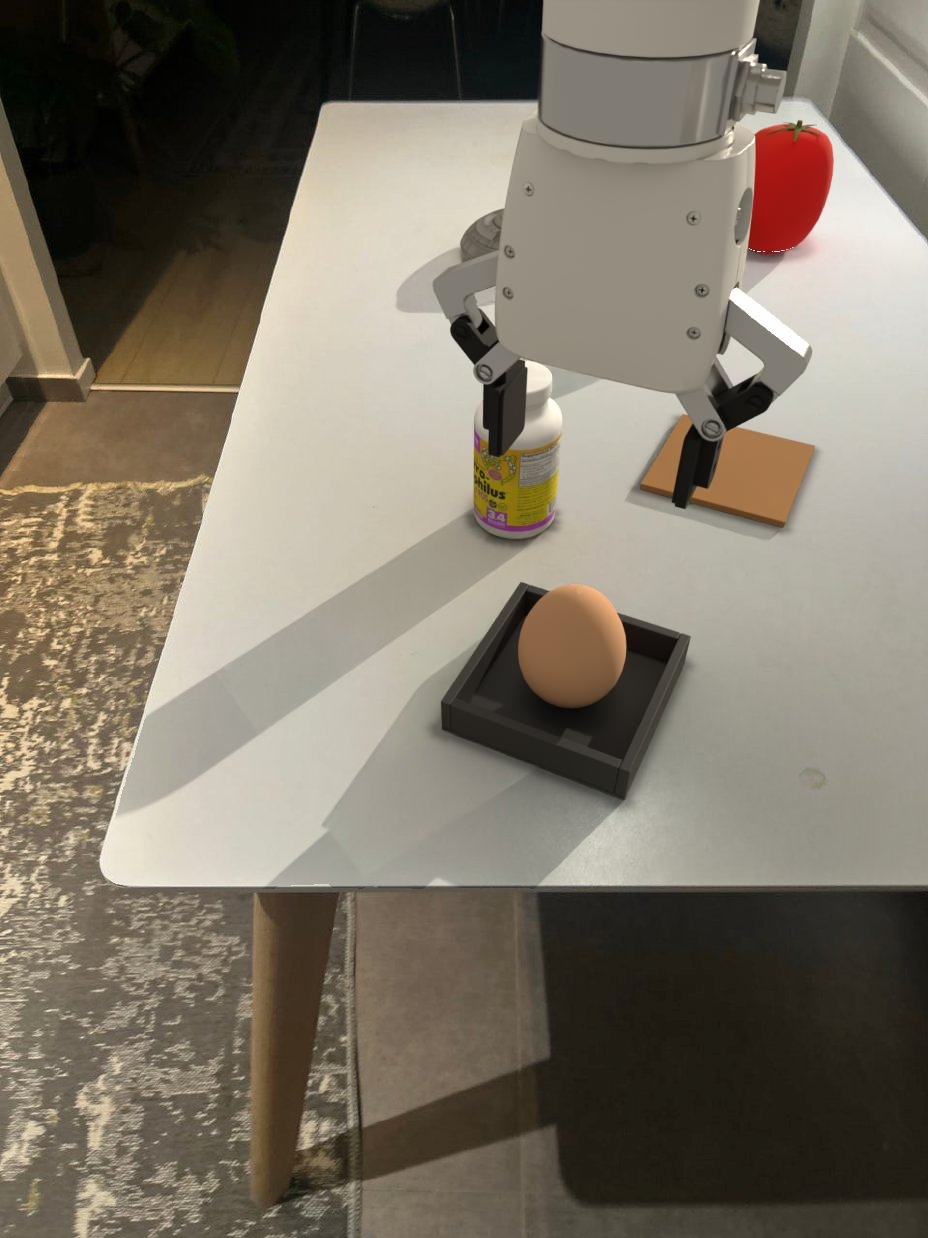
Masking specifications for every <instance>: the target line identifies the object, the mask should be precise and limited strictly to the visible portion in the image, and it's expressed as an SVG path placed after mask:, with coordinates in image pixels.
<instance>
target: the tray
mask: <svg viewBox="0 0 928 1238" xmlns="http://www.w3.org/2000/svg"><path fill="white" fill-rule="evenodd" d="M550 591H551V590H548V589H545V588H542V587H538V586H536V585H533V584H529V583H527V582H523V581H520V582H519V583H518V585H517V586H516V588H515V589H514V591H513V592H512V594H511V596H509V598H508V600H507V602H506V603H505V604H504V606H503V608H502V609H501V610H500V612H499V614H498V615H497V617H496V618H495V619H494V621H493V622H492V624H491V625H490V627H489V628H488V630H487V631H486V633H485V635H484V636H483V637H482V638H481V640H480V641H479V643H478V645H477V646H476V648H475V649H474V651H473V652H472V654H471V655H470V657H469V658H468V660H467V661H466V663H465V664H464V666H463V667H462V669H461V670H460V672H459V673H458V675H457V676H456V678H455V680H454V681H453V682H452V684H450V686H449V688H448V690H447V691H446V693H445V694H444V696H443V697H442V699H441V700H440V718H441V719H440V720H441V721H440V723H441V727H440V728H441V730H442V731H444V732H447V733H449V734H452V735H454V736H457V737H459V738H462V739H466V740H467V741H470V742H473V743H475V744H478V745H480V746H483V747H485V748H488V749H491V750H493V751H496V752H499V753H501V754H504V755H506V756H509V757H512V758H514V759H516V760H519V761H522V762H525V763H527V764H529V765H532V766H534V767H537V768H540V769H542V770H545V771H548V772H550V773H553V774H555V775H558V776H560V777H563V778H566V779H567V780H568V779H569V780H571V781H573V782H576V783H579V784H581V785H583V786H586V787H589V788H592V789H594V790H596V791H598V792H599V791H600V792H602V793H605V794H607V795H610V796H613V797H614V798H618V799H620V800H622V801H625V800H626V798H627V796H628V794H629V791H630V789H631V787H632V785H633V783H634V779H635V778H636V775H637V773H638V771H639V769H640V766H641V764H642V762H643V759H644V757H645V755H646V753H647V751H648V749H649V746H650V743H651V741H652V739H653V736H654V734H655V732H656V730H657V728H658V726H659V723H660V721H661V719H662V716H663V714H664V713H665V709H666V707H667V705H668V703H669V700H670V698H671V696H672V694H673V691H674V689H675V687H676V684H677V682H678V680H679V678H680V675H681V673H682V671H683V668H684V666H685V664H686V660H687V659H686V658H687V655H688V650H689V646H690V642H691V638H692V637H691V635H689V634H686V633H683V632H679V631H677V630H674V629H670V628H667V627H664V626H662V625H661V626H660V625H657V624H655V623H652V622H648V621H645V620H642V619H640V618H636V617H632V616H629V615H626V614H623V613H620V612H617V614H618V616H619V618H620V620H621V622H622V625H623V629H624V632H625V636H626V657H625V662H624V666H623V670H622V672H621V674H620V676H619V678H618V680H617V682H616V684H615V686H614V687H613V688H612V689H611V690H610V691H609V692H608V693H607V694H606V695H605V696H604V697H603V698H601V699H600V700H599V701H597V702H595V703H593V704H590V705H588V706H585V707H581V708H563V707H558V706H555V705H552V704H550V703H548V702H546V701H544V700H543V699H542V698H541V697H539V696H538V695H537V694H536V693H535V692H534V691H533V690H532V689H531V688H530V687H529V685H528V684H527V682H526V680H525V679H524V677H523V674H522V671H521V668H520V665H519V657H518V644H519V638H520V633H521V629H522V626H523V624H524V621H525V619H526V617H527V616H528V614H529V612H530V611H531V610H532V608H533V607H534V606H535V604H536V603H537V602H538V601H539V600H540V599H541V598H542V597H543V596H544V595H546V594H547V593H548V592H550Z"/></svg>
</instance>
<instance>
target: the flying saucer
mask: <svg viewBox="0 0 928 1238" xmlns="http://www.w3.org/2000/svg"><path fill="white" fill-rule="evenodd" d="M504 208H505V207H503V208H499V209H496V210H494V211H491V212H489V213H487V214H484V215H483V216H482V217H479V218H478V219H476V220H475V221H474V222H473V223H472V224H470V226H469V227H468V228H466V230H465V232H464V233H463V235H462V237H461V239H460V242H459V246H460V249H461V251H462V252H463V253H464V255H465V256H466V257H468V258H469V260H471V259H474V258H477V257H480V256H483V255H485V254H488V253H491V252H494V251H497V250H499V244H500V236H501V228H502V221H503V215H504Z"/></svg>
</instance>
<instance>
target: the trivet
mask: <svg viewBox="0 0 928 1238" xmlns="http://www.w3.org/2000/svg"><path fill="white" fill-rule="evenodd" d="M692 423H693V422H692V421H691V419H690V417H689V416H688V414H684V413H682V414H681V416H680V417H679V419H678V421H677V422H676V425H674V428H673V429H672V431H671V432H670V434H669V436H668V438H667V439H666V441H665V442H664V444H663V446H662V448H661V449H660V451H659V453H658V454H657V456H656V458H655V459H654V461H653V463H652V464H651V466H650V467H649V469H648V471H647V473H646V474H645V476H644V478H643V479H642V481H641V483H640V490H642V491H645V492H650V493H654V494H656V495H661V496H664V497H668V498H672V496H673V491H674V486H675V481H676V476H677V471H678V466H679V461H680V456H681V450H682V445H683V441H684V438H685V436H686V434H687V432H688V430H689V429H690V427H691V425H692ZM815 448H816V445H814V444H809V443H805V442H801V441H797V440H793V439H789V438H785V437H782V436H777V435H772V434H768V433H764V432H760V431H757V430H756V431H755V430H752V429H747V428H744V427H740V426H737V427H735V428H733V429H731V430H729V431H727V432H726V433H725V435H724V438H723V442H722V446H721V451H720V455H719V459H718V464H717V468H716V471H715V474H714V477H713V480H712V482H711V484H710V486H709V488H708V489H706V488H702V487H698V486H697V488H696V490H695V491H694V493H693V495H692V497H691V499H690V501H689V504H695V505H698V506H702V507H705V508H708V509H712V510H717V511H720V512H724V513H728V514H732V515H735V516H739V517H741V518H746V519H749V520H753V521H757V522H760V523H764V524H767V525H771V526H775V527H779V528H784V527H785V525H786V523H787V521H788V517H789V515H790V513H791V510H792V507H793V505H794V502H795V500H796V497H797V494H798V492H799V489H800V487H801V485H802V482H803V479H804V477H805V474H806V471H807V469H808V467H809V464H810V461H811V459H812V456H813V453H814V451H815Z"/></svg>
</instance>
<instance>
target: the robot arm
mask: <svg viewBox="0 0 928 1238" xmlns="http://www.w3.org/2000/svg"><path fill="white" fill-rule="evenodd" d="M542 1H543V2H542V20H541V22H542V23H541V33H540V53H539V69H538V70H539V71H538V72H539V73H538V74H539V75H538V90H537V91H538V93H537V96H538V97H537V107H536V108H535V109H533V110H532V111H531V113H530V114H528V116H526V117H525V118H524V120H523V121H522V125H521V127H520V131H519V137H518V139H517V144H516V148H515V151H514V157H513V161H512V165H511V171H510V175H509V181H508V186H507V191H506V192H507V193H506V196H505V203H504V207H503V208H504V215H503V221H502V228H501V236H500V244H499V250H497V251H494V252H491V253H488V254H485V255H483V256H480V257H477V258H474V259H468V260H465V261H463V262H461V263H457V264H455V265H452V266H449V267H447V268H446V269H445V270H443V271H442V272H441V273H440V274H438V276H436V277H435V278H434V279H433V281H432V289H433V292H434V294H435V296H436V300H437V301H438V303H439V305H440V309H441V310H442V313H443V314H444V316H445V318H446V320H448V321H449V323H450V327H449V333H450V336H451V337H452V339H453V340H454V342H455V344H457V346H458V347H459V348H460V349H461V350H462V352H463V353H464V354H465V355H466V357H467V358H468V359H469V361H470V362H471V363H472V364H473V365H474V366H473V369H472V374H473V376H474V378H475V379H476V381H477V382H479V383H480V384H482V401H483V428H484V429H486V430H489V436H488V454H489V455H491V456H495V457H500V456H503V455H504V454H505V453H506V452H507V451H508V449H509V448H510V447H511V445H512V444H513V443H514V442H515V440H516V439H517V438H518V437H519V435H520V434H521V433H522V431H523V430H524V426H525V410H526V392H527V373H528V368H527V367H525V361H524V360H526V361H532V362H536V363H539V364H541V365H544V366H549V367H552V368H557V369H561V370H565V371H569V372H574V373H577V374H582V375H586V376H590V377H593V378H597V379H602V380H606V381H611V382H615V383H620V384H624V385H628V386H633V387H637V388H641V389H645V390H650V391H654V392H659V393H660V392H661V393H665V394H673V395H675V396H676V398H677V399H678V401H679V403H680V405H681V406H682V408H683V409H684V411H685V412H686V415H688V416H689V417H690V419H691V421H692V422H693V423H692V425H691V427H690V429H689V430H688V432H687V434H686V436H685V438H684V441H683V445H682V450H681V456H680V461H679V466H678V471H677V476H676V481H675V486H674V491H673V496H672V497H671V501H670V503H672V504H674V507H675V508H678V509H681V510H686V509H687V507H688V505H689V504H690V502H689V501H690V499H691V497H692V495H693V493H694V491H695V490H696V488H697V486H698V487H702V488H706V489H708V488H709V486H710V484H711V482H712V480H713V477H714V474H715V471H716V468H717V464H718V459H719V455H720V451H721V446H722V442H723V438H724V435H725V433H726V432H727V431H729V430H731V429H733V428H735V427H740V426H741V425H742V424H744V423H746V422H749V421H750V420H752V419H755V418H757V417H758V416H760V415H762V414H764V413H765V412H767V411H768V410H769V408H770V406H771V405H772V404H773V403H774V402H775V401H776V400H777V399H778V398H779V397H781V396H782V395H783V393H785V392H786V391H787V390H788V389H789V388H790V387H791V386H792V384H794V383H795V382H796V381H797V380H798V379H799V378H800V376H802V375H803V374H804V373H805V371H806V369H807V368H808V366H809V364H810V361H811V358H812V356H813V348H812V346H811V345H810V344H809V343H808V342H807V341H805V340H804V339H803V338H802V337H801V336H799V335H798V334H797V333H795V332H794V331H793V330H792V329H791V328H789V327H788V326H786V324H784V323H783V322H781V321H780V320H779V319H778V318H776V317H775V316H774V315H772V314H771V313H770V312H769V311H768V310H766V309H765V308H764V307H762V306H761V305H760V304H759V303H757V302H756V301H755V300H754V299H752V298H751V297H750V296H748V295H747V294H746V293H745V292H744V291H742V286H743V281H744V280H743V279H744V273H745V267H746V261H747V254H748V250H749V249H748V241H749V233H750V225H751V216H752V206H753V197H754V179H755V135H754V134H755V133H754V132H753V131H752V130H751V129H749V128H748V127H746V126H742V125H738V124H737V123H740V122H741V121H742V120H743V118H745V116H746V115H749V116H750V115H751V116H755V115H756V113H757V112H758V113H766V114H774V115H776V114H777V113H778V111H779V109H780V106H781V103H782V100H783V96H784V93H785V88H786V85H787V84H786V83H787V75H788V72H787V70H781V69H780V70H779V69H771V68H768V65H767V63H759V62H758V61H759V54H755V49H756V44H757V38H756V37H755V38H754V32H755V27H756V22H757V16H758V12H759V6H760V1H761V0H542ZM494 287H495V289H494V290H495V293H494V323H493V322H492V321H491V320H490V318H489V317H488V316H487V314H486V313H485V311H483V309H482V308H480V307H478V305H477V304H478V300H477V298H476V293H478V292H481V291H484V290H485V291H486V290H488V289H491V288H494ZM731 339H734V340H735V341H736V342H738V344H740V345H742V347H744V348H745V349H746V350H748V351H749V352H750V353H751V354H752V355H754V356H755V357H756V358H758V359H760V361H761V362H762V363H763V367H762V368H761V369H760V370H759V371H758V372H757V373H755V374H753V375H752V376H749V377H748V378H745V379H744V380H742V381H741V382H738V383H737V384H735V385H734V384H733V383H732V381H731V379H730V378H729V376H728V374H727V372H726V371H725V369H724V367H723V365H722V364H721V362H720V360H719V358H718V357H717V355H722V356H724V355H725V353H726V351H727V349H728V347H729V345H730V342H731Z"/></svg>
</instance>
